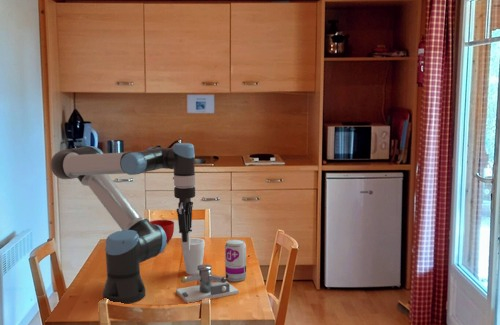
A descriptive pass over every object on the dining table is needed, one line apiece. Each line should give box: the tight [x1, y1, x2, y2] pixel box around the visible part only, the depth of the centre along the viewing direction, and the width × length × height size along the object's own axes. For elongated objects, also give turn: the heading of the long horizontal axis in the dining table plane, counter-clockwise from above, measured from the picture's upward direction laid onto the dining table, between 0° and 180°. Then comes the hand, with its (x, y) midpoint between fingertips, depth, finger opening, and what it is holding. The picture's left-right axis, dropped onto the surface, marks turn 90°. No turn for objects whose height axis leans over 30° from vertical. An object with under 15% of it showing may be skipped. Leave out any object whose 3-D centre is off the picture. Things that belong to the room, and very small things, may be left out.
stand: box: [175, 280, 240, 304], centre depth 209 cm, size 20×13×4 cm, turn 117°
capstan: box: [180, 263, 227, 293], centre depth 206 cm, size 16×14×9 cm
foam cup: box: [180, 237, 206, 276], centre depth 231 cm, size 10×9×13 cm
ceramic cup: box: [149, 219, 175, 245], centre depth 271 cm, size 13×17×10 cm
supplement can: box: [224, 238, 247, 282], centre depth 223 cm, size 8×8×15 cm
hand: (185, 249), depth 207 cm, fingers closed
